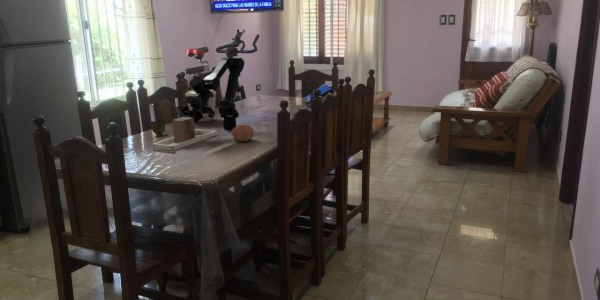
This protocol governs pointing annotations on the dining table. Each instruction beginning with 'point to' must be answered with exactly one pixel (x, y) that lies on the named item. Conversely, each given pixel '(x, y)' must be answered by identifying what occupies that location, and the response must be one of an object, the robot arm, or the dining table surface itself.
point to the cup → (158, 127)
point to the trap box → (171, 145)
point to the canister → (210, 104)
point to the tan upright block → (183, 129)
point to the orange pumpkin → (243, 133)
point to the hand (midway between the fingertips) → (189, 125)
